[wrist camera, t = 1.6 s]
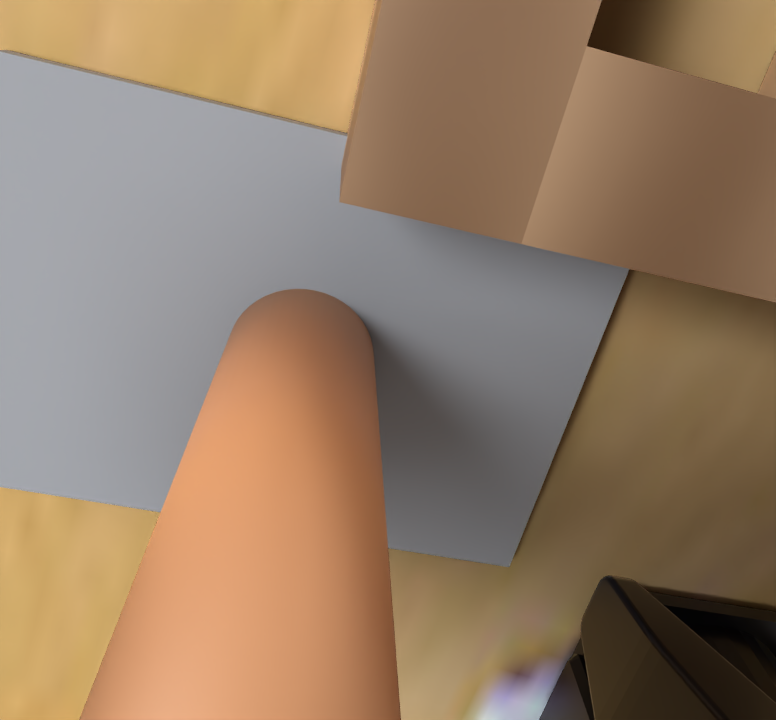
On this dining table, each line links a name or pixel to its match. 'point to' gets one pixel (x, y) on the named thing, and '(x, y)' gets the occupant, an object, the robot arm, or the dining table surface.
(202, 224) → the mat
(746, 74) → the dining table surface
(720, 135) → the hole block
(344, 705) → the peg
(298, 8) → the dining table surface
